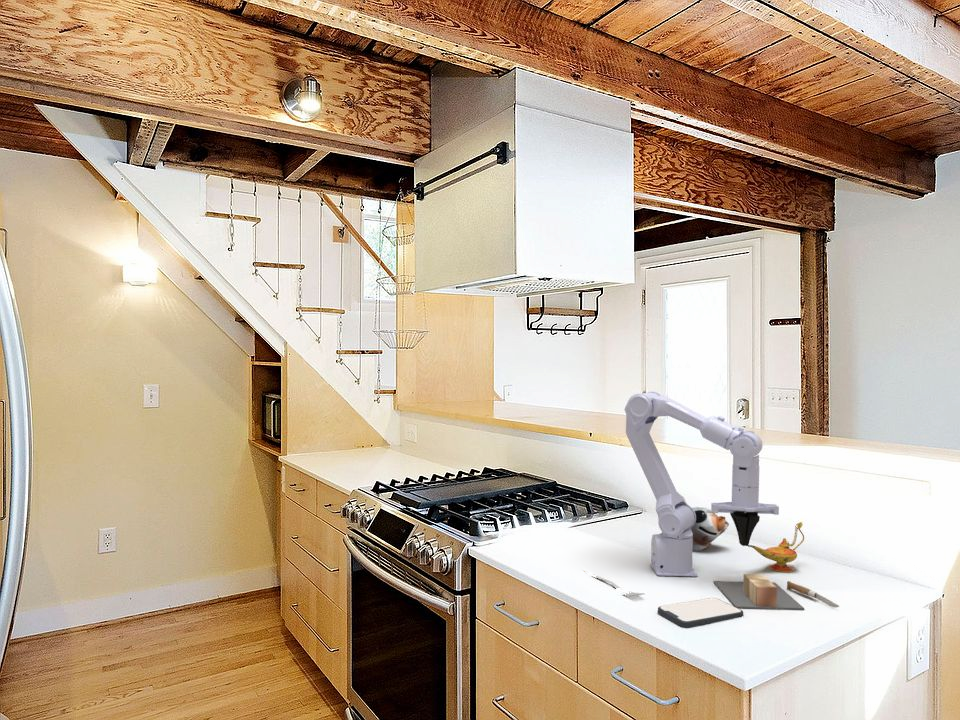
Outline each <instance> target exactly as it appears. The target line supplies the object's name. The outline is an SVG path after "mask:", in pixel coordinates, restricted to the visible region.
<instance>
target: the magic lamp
mask: <svg viewBox="0 0 960 720" xmlns="http://www.w3.org/2000/svg"><path fill="white" fill-rule="evenodd" d="M803 525H804V524H803V522H802V521H800V522H798V523H796V524H795V526H794V535H793V537H794V538H793V541H792V543H791V544H790V542H789V541H788V540H787V538H784V537H783V539H782V541H781V542H780V543H779V544H778V545H777V546H770V547H768V548H766V549H765V548H761V547H760V546H759V547H758V546H756V545H751V544H749V545H748V546H747V547H749V548H752V549H754V550H755V551H756V552H757V553H759V554H760V555H761V556H763V557H764V558H765V559H768V560H771V561H774V562H775V564H772V565H770V567H769V568H770V569H771V570H773V571H775V572H776V571H777V572H781V573H791V572H793V570H794V569H793V568H792V567H790V566H789V565H788V564H787V563H792V562H793V561H795V560H796V559H797V557H798V554H797V551H796V549H798V548H799V546H801V545H802V544H803V542H804V540H805V535H804V533H803V531H802V530H801V528H802V527H803ZM798 532H799V533H801V535H802V540H801V541H800V542H799V544H797V545H796V546H795V544H796V542H797V536H798ZM793 546H795V547H794V548H793V549H792V548H791V547H793Z"/></svg>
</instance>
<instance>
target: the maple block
mask: <svg viewBox="0 0 960 720" xmlns="http://www.w3.org/2000/svg"><path fill="white" fill-rule="evenodd" d="M742 582H743V592H744V593H745V594H746V595H747V596H748V597H749V598H750V599H751V600H752V601H753V602H754V603H755V605H756V606H773V607H777V587H776V586H775V585H773V584H772V583H771V580H769V579H768V578H766V576H764V574H761V573H760V574H758V573H757V574H756V573H755V574H754V573H743V581H742Z"/></svg>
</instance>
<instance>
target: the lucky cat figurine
mask: <svg viewBox="0 0 960 720" xmlns="http://www.w3.org/2000/svg"><path fill="white" fill-rule="evenodd" d="M691 508H692V509H693V510H694V512H695V514H696V522H695V524H694V525H693V526H692V527H691V531H692V533H693V547H692V552H698V551H699V552H701V551H703V550H704V549H707V547H708V546H709V545H710V544H712V542H713V541H715V540H716V539H717V538H718V537H719V536H721V534H723V533H725V532H726V530H728V528H729V525H730V523H729V522H728V521H727V520H726V516H723V515H721V516H718V515H717V513H713V512H712V511H711V508H707V507H699V506H694V507H691Z"/></svg>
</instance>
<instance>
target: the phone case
mask: <svg viewBox="0 0 960 720" xmlns="http://www.w3.org/2000/svg"><path fill="white" fill-rule="evenodd" d="M657 614H658V615H659V616H661V618H664V619H666V620H667V621H670V622H671V623H673V624H675V625H677V626H678V627H680V628H683V629H691V628H694V627H699V626H700V627H701V626H705V625H710V624H714V623H719V622H725V621H729V620H735V619H738V618H743V617H744V610H742V609H738V608H736V607H734V606H733V605H732V604H730V603H728V602H726V601H724V600H722V599H720V598H716V597H710V598H702V599H696V600H691V601H690V600H689V601H685V602H679V603H672V604H666V605H660V606H658V607H657ZM742 616H743V617H742ZM734 618H735V619H734Z"/></svg>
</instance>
